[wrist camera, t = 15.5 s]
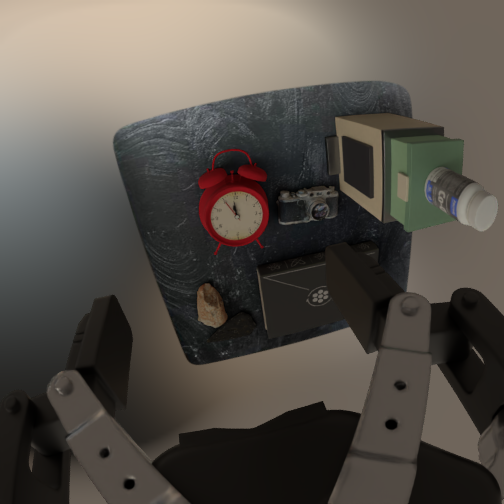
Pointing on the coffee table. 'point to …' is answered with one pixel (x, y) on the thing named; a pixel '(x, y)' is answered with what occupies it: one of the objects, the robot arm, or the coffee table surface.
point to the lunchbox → (420, 177)
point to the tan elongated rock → (210, 306)
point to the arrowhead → (234, 328)
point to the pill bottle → (461, 198)
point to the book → (300, 292)
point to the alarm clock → (234, 204)
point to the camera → (307, 205)
